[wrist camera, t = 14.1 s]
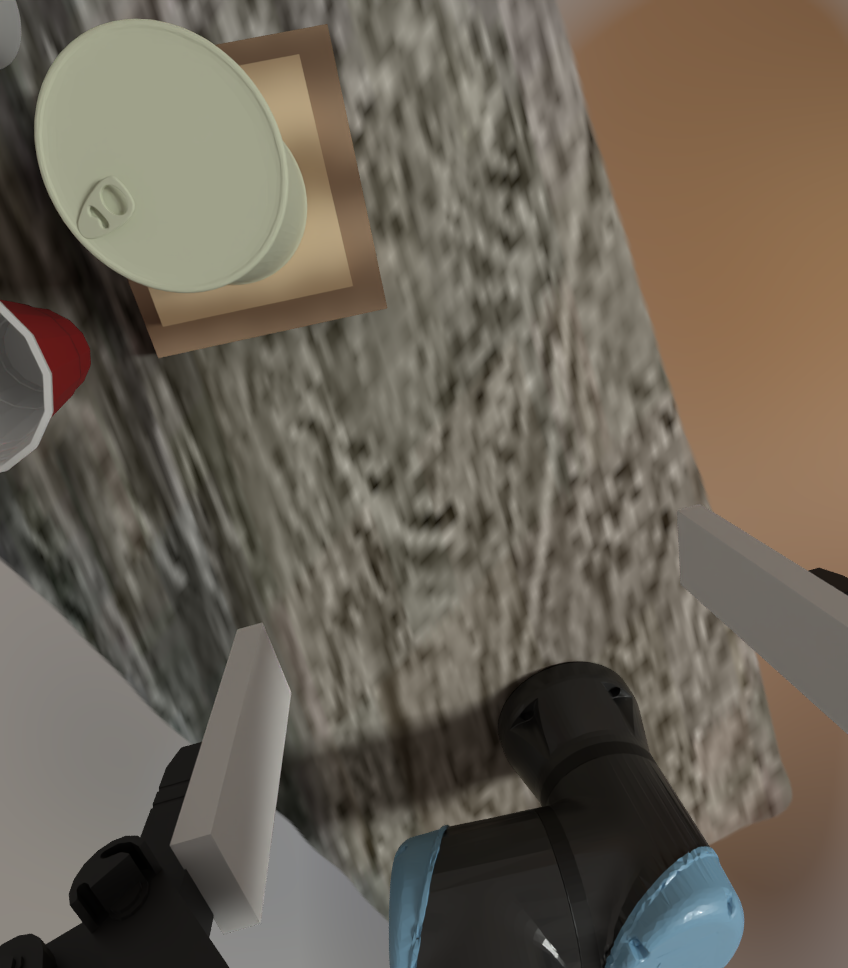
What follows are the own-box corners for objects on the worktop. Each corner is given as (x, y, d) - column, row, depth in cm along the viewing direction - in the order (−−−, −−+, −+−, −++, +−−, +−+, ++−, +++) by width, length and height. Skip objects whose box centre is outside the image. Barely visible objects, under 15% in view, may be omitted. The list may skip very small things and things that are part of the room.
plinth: (384, 305, 40) (390, 312, 35) (171, 351, 39) (143, 365, 34) (328, 43, 34) (325, 0, 28) (72, 91, 33) (18, 57, 27)
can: (103, 172, 30) (-38, 120, 19) (233, 65, 29) (164, -57, 18) (220, 315, 33) (159, 341, 22) (339, 224, 32) (337, 204, 21)
